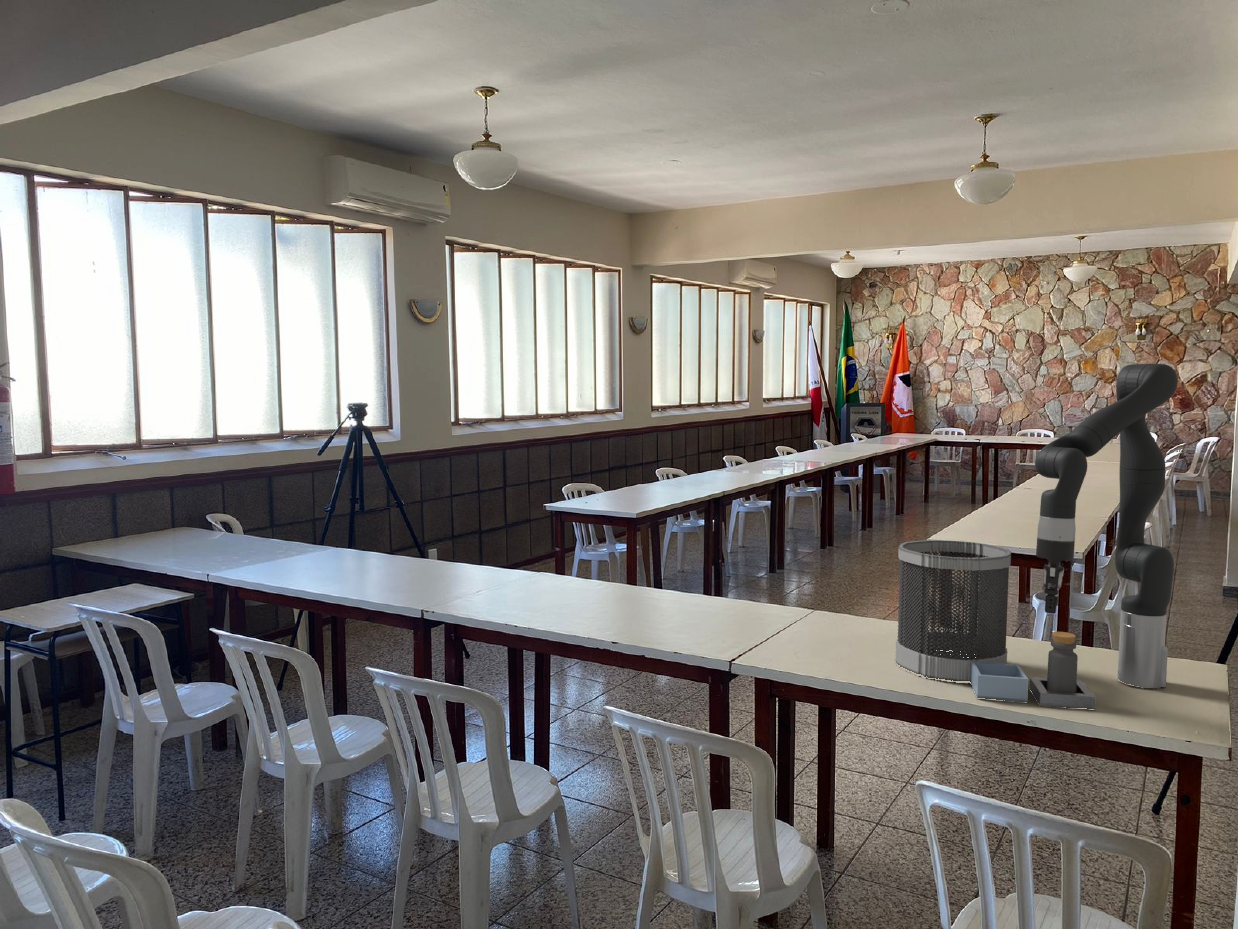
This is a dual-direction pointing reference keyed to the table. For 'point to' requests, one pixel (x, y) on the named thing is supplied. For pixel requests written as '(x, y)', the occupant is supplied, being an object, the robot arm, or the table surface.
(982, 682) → the bin
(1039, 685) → the collar
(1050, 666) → the bottle
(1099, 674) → the table surface
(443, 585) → the table surface
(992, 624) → the wastebasket
